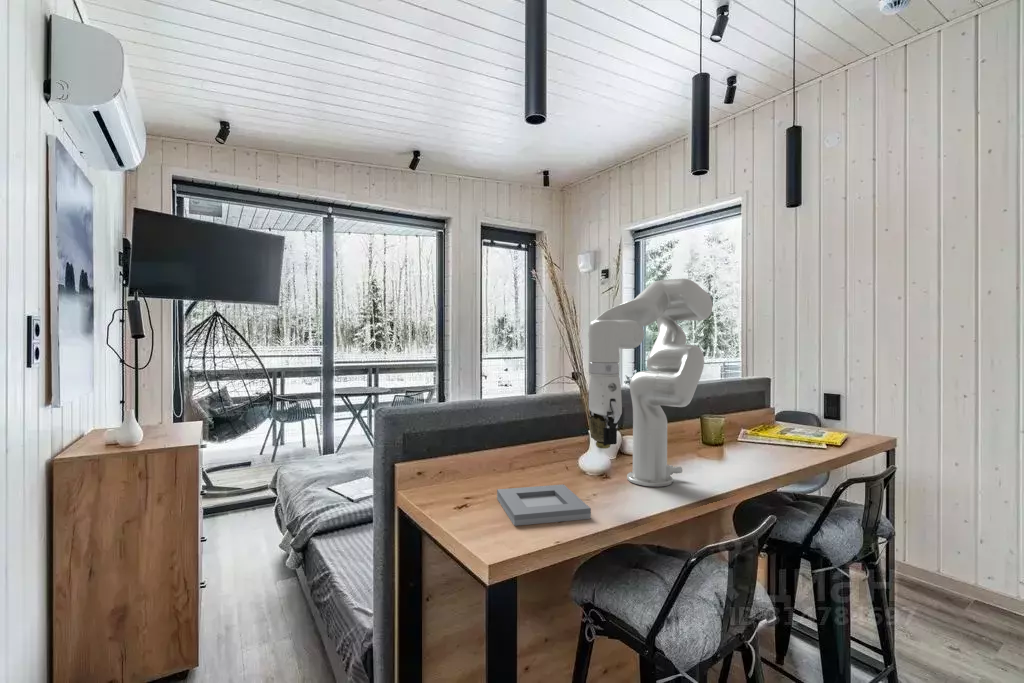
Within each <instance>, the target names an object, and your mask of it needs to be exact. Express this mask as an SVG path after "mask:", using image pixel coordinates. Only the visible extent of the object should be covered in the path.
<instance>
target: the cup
mask: <svg viewBox="0 0 1024 683" xmlns="http://www.w3.org/2000/svg"><path fill="white" fill-rule="evenodd" d="M607 415H609V414H607ZM610 415H612V414H610ZM587 418H588V425H589V426H588V427H589V432H590V437H591V436H592V439H593V440H594V441H595V446H596V447H597V448H598V449H603V450H604V449H606V450H607V449H609V448H610V447H611V446H612V444H611V445H605V444H604V428H606V427H605V422H604V417H602V416H600V415H599V416H598V415H597V414H595V416H594V417H593V415H592V414H591V415H590V414H589V415H588V416H587ZM610 419H611V418H608V421H610Z"/></svg>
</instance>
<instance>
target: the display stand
mask: <svg viewBox="0 0 1024 683" xmlns="http://www.w3.org/2000/svg"><path fill="white" fill-rule="evenodd" d="M496 499H497V501H498V503H499V504H500V506H501V507H502V509H503V510H504V512H505V513H506V515H507V516H508V518H509V520H510V521H511V523H512V525H513V526H514V527H516V526H517V527H518V526H527V525H538V524H549V523H550V524H551V523H559V522H560V523H561V522H570V521H579V520H591V518H592V517H591V516H592V514H591V513H592V512H591V511H592V507H590V506H589V505H588V504H586V502H585V501H583V500H582V499H581V498H580V497H579V496H578V495H577V494H575V493H574V492H573V491H572V490H571V489H569V488H568V487H567V486H566V485H565V484H551V485H539V486H538V485H537V486H527V487H526V486H524V487H513V488H498V489H496Z"/></svg>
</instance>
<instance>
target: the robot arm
mask: <svg viewBox="0 0 1024 683" xmlns="http://www.w3.org/2000/svg"><path fill="white" fill-rule="evenodd" d="M712 311H713V301H712V298H711V296H710V295H709V293H708V292H707V291H706V290H705V289H703V288H702V287H701V286H700V285H699V284H698V283H696V282H695V281H693V280H692V279H688V278H673V279H660V280H659V279H658V280H655V281H653V282H652V283H650V284H649V285H648V286H646V288H644V289H643V290H642V291H641V292H640V293H639V294H638V295H636V297H635V298H633V299H631V300H628V301H625V302H623V303H621V304H618V305H616V306H613V307H611V308H609V309H607V310H605V311H604V312H602V313H601V314H599V315H598V316H597V317H596V318H595V319H594V320H591V321H590V323H589V325H588V326H589V328H588V333H587V334H588V335H587V336H588V376H589V386H588V409H589V415H590V416H591V414H592V415H593V417H594V416H595V414H597V415H598V416H599V415H600V416H602V417H604V422H605V427H606V428H604V444H605V445H611V446H612V445H616V444H617V439H618V436H617V435H618V427H619V421H620V418H621V416H622V413H623V408H622V407H623V404H622V403H623V401H622V400H623V399H622V386H621V380H620V352H621V349H622V350H630V349H631V350H632V349H635V348H637V347H639V346H640V345H641V343H642V342H643V340H644V337H645V331H644V328H643V327H646V326H650V325H652V324H653V323H655V322H656V326H657V329H658V334H657V337H656V339H655V341H654V342H653V345H652V347H651V349H650V351H649V354H648V357H647V359H646V366H647V369H648V370H641V371H637V372H636V373H634V374H633V375H632V376H631V378H630V381H629V392H630V398H631V403H632V404H631V406H632V471H630V472H627V475H626V479H627V480H628V481H629V482H631V483H633V484H635V485H638V486H639V485H640V486H643V487H644V486H645V487H650V488H651V487H656V488H657V487H659V488H660V487H667V486H670V485H672V483H673V477H672V475H673V474H682V473H683V467H682V466H681V465H679V466H673V464H672V465H671V464H670V465H669V464H668V418H667V415H666V413H665V412H664V410H663V408H662V407H663V406H665V407H673V408H676V407H677V408H685V407H687V406H688V405H690V403H691V401H692V400H693V397H694V395H695V392H696V390H697V387H698V384H699V382H700V379H701V377H702V374H703V372H704V367H705V356H704V352H703V351H702V349H701V348H700V347H699V346H697V345H694V344H686V343H687V335H686V333H685V332H684V330H683V329H682V327H681V326H680V325H679V324H678V323H677V321H679V322H680V321H703V320H707V319H708V318H709V317H710V316H711V314H712ZM661 406H662V407H661ZM607 414H608V415H607ZM611 414H612V415H611ZM608 418H611V419H610V421H608ZM590 438H592V436H591V435H590ZM592 439H593V438H592Z"/></svg>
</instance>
